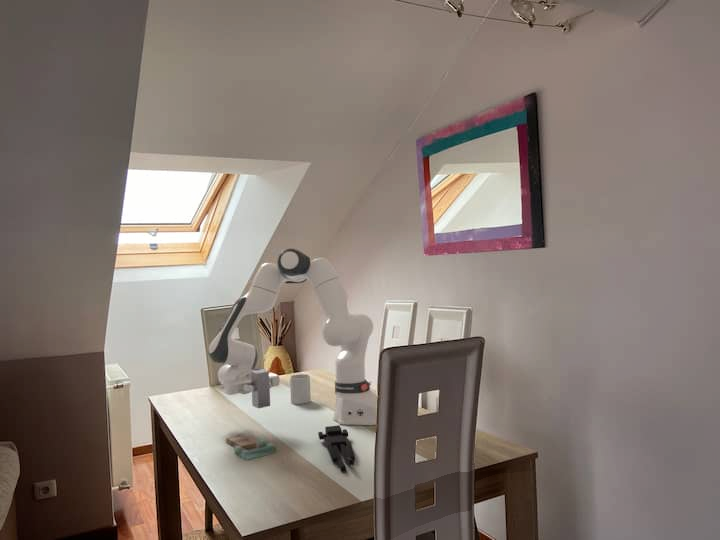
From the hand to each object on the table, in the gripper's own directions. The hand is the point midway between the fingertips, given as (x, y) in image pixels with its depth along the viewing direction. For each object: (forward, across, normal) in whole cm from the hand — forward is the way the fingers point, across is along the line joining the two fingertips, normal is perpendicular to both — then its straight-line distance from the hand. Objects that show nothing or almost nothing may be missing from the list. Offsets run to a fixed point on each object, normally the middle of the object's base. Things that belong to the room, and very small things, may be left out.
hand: (261, 387), depth 188 cm
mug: (-32, +34, +18) cm, 50 cm away
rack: (+7, -10, +17) cm, 21 cm away
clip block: (-1, 0, +6) cm, 7 cm away
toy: (+32, +9, +17) cm, 38 cm away
